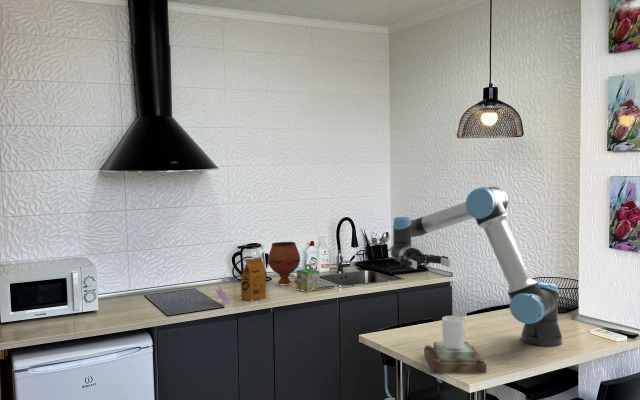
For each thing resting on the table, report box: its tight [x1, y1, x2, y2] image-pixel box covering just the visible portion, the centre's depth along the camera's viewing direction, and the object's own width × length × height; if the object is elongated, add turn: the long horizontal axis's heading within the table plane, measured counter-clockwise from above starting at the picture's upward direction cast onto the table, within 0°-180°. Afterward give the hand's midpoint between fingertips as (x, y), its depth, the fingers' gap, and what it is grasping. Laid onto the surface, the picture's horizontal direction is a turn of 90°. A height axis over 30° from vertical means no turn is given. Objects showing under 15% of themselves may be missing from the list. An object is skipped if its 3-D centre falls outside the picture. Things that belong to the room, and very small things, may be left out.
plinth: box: [423, 341, 487, 374], centre depth 203 cm, size 18×18×6 cm
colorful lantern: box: [296, 263, 319, 291], centre depth 330 cm, size 9×9×15 cm
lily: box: [213, 283, 232, 306], centre depth 298 cm, size 12×12×10 cm
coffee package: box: [240, 256, 267, 302], centre depth 309 cm, size 10×12×22 cm
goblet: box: [267, 241, 301, 284], centre depth 348 cm, size 19×19×25 cm
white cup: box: [441, 315, 466, 349], centre depth 202 cm, size 8×8×10 cm
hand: (432, 264), depth 220 cm, fingers open, 13 cm apart
